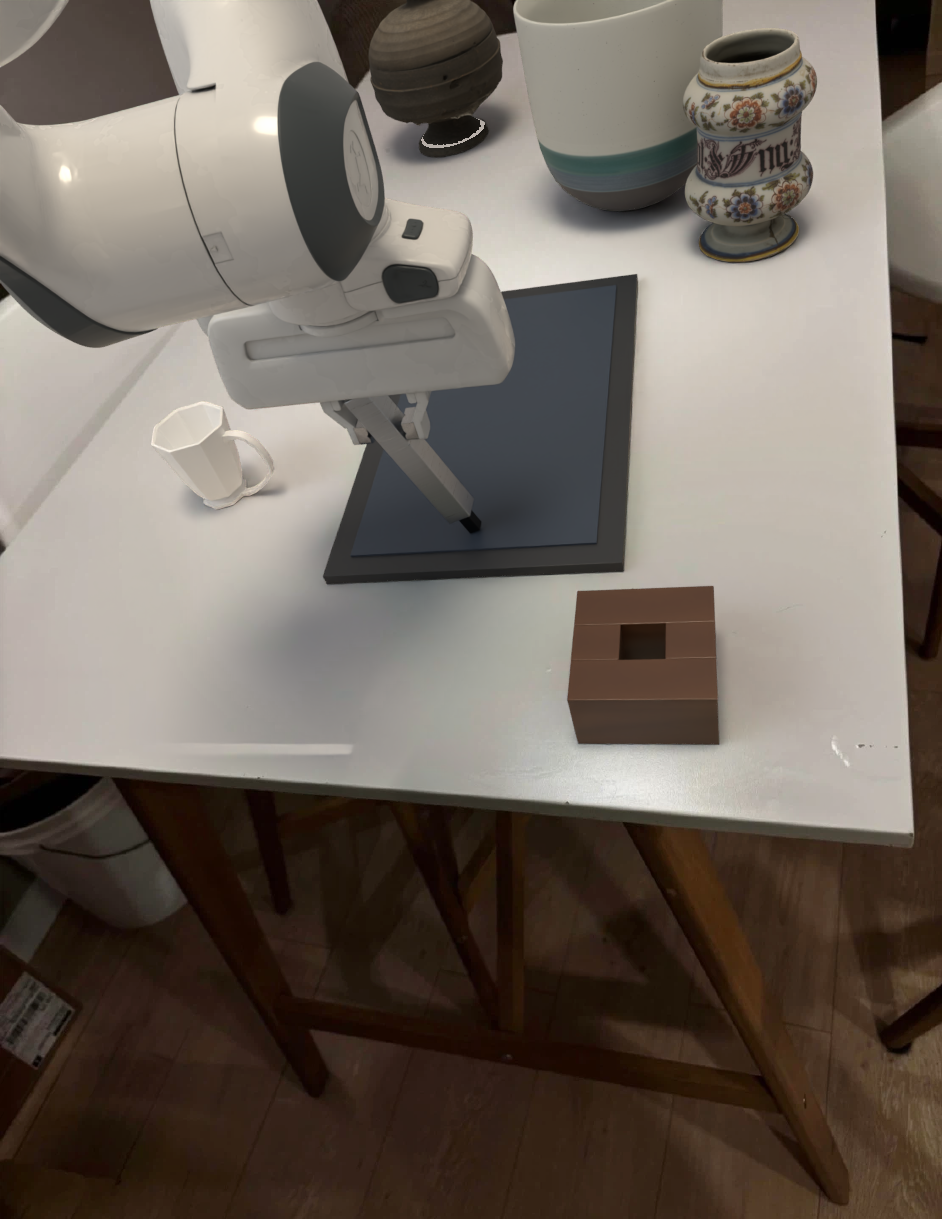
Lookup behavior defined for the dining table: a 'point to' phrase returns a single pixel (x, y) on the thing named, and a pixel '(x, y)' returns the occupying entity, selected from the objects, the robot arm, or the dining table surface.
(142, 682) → the dining table surface
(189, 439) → the cup
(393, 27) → the pot
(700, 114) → the apothecary jar
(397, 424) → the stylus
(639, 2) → the planter
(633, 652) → the brown block with hole
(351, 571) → the drawing tablet
